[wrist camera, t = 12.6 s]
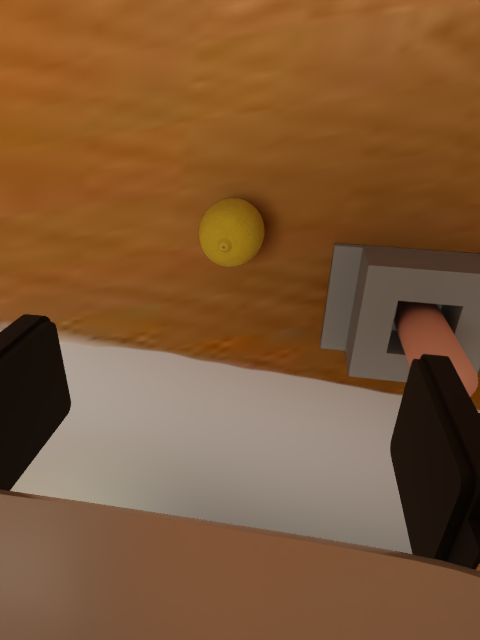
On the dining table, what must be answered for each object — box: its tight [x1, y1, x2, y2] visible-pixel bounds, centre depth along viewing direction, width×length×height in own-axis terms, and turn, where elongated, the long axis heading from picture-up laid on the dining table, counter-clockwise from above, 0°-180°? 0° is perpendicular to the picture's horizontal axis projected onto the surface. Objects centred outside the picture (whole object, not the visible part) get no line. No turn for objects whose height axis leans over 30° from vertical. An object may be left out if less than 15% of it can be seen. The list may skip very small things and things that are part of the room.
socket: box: [320, 243, 480, 382], centre depth 39 cm, size 16×11×5 cm
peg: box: [394, 301, 478, 396], centre depth 36 cm, size 4×4×12 cm
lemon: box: [199, 198, 265, 267], centre depth 37 cm, size 6×6×8 cm
